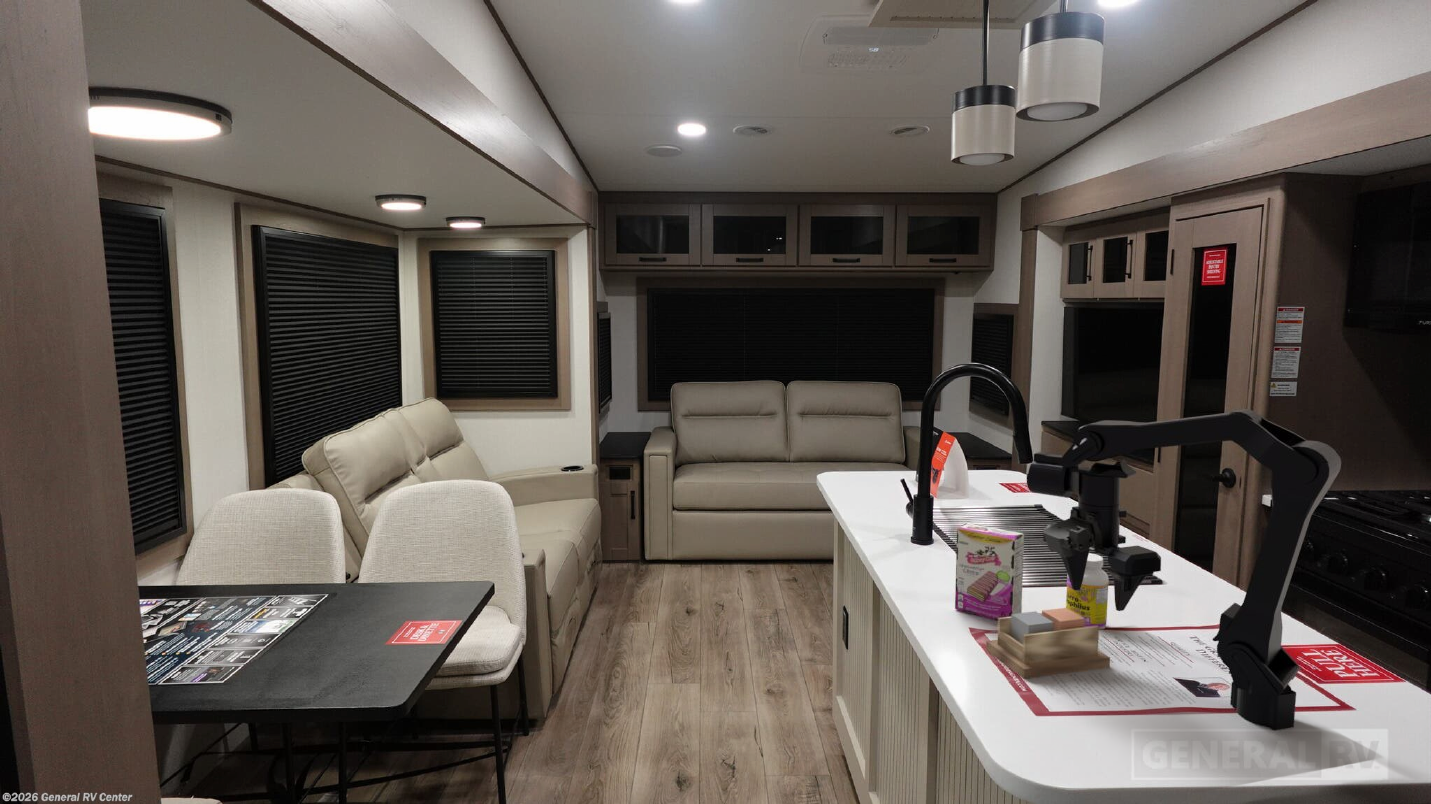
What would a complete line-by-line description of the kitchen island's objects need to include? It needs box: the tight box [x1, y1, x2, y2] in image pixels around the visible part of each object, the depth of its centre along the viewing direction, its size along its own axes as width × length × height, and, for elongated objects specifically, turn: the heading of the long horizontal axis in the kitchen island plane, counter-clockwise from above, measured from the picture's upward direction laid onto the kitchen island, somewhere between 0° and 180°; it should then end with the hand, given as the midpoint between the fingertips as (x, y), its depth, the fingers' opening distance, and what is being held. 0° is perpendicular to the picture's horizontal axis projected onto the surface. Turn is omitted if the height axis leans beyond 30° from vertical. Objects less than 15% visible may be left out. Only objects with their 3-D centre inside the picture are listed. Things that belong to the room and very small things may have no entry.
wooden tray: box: [997, 612, 1100, 664], centre depth 116 cm, size 13×7×4 cm, turn 102°
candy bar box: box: [954, 522, 1025, 622], centre depth 137 cm, size 11×5×16 cm, turn 47°
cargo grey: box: [1011, 611, 1054, 645], centre depth 116 cm, size 4×4×4 cm
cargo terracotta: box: [1041, 607, 1085, 631], centre depth 117 cm, size 4×4×4 cm
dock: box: [985, 639, 1111, 680], centre depth 117 cm, size 10×15×3 cm, turn 102°
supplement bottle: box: [1065, 552, 1110, 631], centre depth 132 cm, size 7×7×13 cm
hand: (1097, 599), depth 115 cm, fingers open, 9 cm apart
